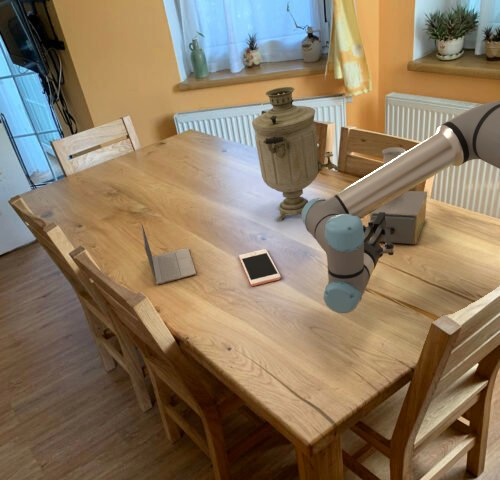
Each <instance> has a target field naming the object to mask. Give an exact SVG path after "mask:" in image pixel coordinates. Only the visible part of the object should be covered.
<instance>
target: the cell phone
mask: <svg viewBox="0 0 500 480" xmlns="http://www.w3.org/2000/svg"><path fill="white" fill-rule="evenodd" d="M238 259H239V260H240V262H241V265H242V267H243V270H244V272H245V275H246V277H247V279H248V281H249V283H250V286H252V287H255V286H259V285H263V284H267V283H271V282H276V281H279V280H281V278H282V277H281V274H280V272H279V270H278V269H277V267H276V264H275V263H274V261H273V259H272V257H271V255H270V254H269V252H268V250H267V248H264V249H259V250H255V251H251V252H246V253H243V254H239V255H238Z"/></svg>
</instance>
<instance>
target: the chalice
mask: <svg viewBox="0 0 500 480" xmlns="http://www.w3.org/2000/svg"><path fill="white" fill-rule="evenodd" d="M405 152H406V149H405V148H403V147H399V146H397V147H395V146H393V147H387V148H385V149H383V150H381V153H382V155H383V166H384V165H385V164H387V163H389V162H390V161H392V160H394V159H395V158H397V157H399V156H400V155H402V154H404V153H405Z"/></svg>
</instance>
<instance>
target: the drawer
mask: <svg viewBox="0 0 500 480" xmlns="http://www.w3.org/2000/svg"><path fill="white" fill-rule="evenodd" d="M377 216H378V215H372V216H371V221H372V220H376V218H377ZM385 221H386V227H388V226H389V227H390V234H391V242H397V243H396V244H401V243H410V244H409V245H414V244H413V243H414V232H415V217H407V216H388V215H385ZM373 236H374V233H373V235H372V237H373ZM372 237H371V238H372ZM381 241H383V242H382V243H385V235H383V237H382V239H381Z"/></svg>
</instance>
